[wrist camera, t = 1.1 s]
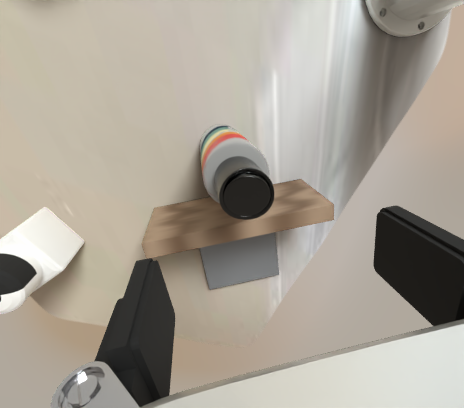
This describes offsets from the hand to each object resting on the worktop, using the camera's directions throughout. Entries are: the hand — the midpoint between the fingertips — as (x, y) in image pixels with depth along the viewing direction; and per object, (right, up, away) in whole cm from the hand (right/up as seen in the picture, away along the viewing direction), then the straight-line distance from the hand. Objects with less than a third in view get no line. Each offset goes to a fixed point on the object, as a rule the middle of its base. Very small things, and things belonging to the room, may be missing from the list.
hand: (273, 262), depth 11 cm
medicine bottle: (-28, -2, +27) cm, 39 cm away
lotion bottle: (-3, +10, +25) cm, 27 cm away
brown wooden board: (-2, +3, +28) cm, 28 cm away
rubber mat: (-1, -5, +31) cm, 32 cm away
